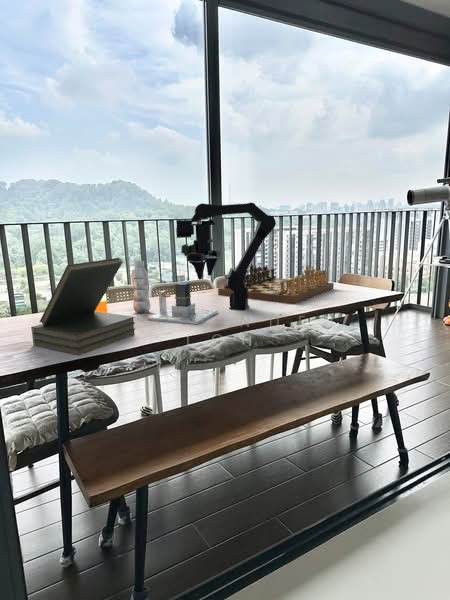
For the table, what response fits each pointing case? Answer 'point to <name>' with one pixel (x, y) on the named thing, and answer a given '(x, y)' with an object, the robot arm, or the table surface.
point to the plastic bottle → (140, 288)
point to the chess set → (282, 285)
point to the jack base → (180, 312)
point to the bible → (82, 311)
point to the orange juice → (102, 305)
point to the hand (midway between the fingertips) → (204, 277)
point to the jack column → (182, 294)
